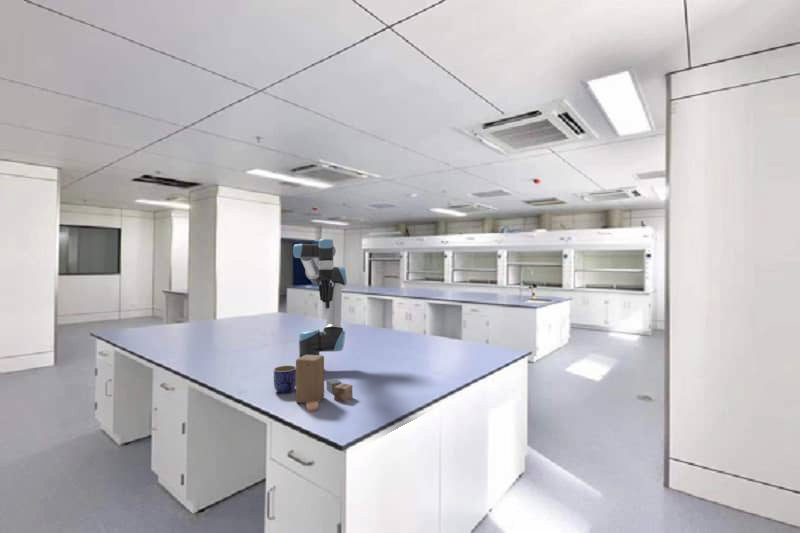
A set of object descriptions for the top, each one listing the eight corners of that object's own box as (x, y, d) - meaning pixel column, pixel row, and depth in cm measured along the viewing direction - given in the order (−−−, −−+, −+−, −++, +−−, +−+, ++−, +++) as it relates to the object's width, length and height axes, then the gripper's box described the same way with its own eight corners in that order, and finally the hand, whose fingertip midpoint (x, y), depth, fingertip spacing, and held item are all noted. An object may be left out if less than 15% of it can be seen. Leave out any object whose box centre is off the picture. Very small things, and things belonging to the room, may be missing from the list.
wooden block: (316, 405, 165) (315, 360, 165) (295, 403, 167) (294, 359, 167) (324, 397, 175) (324, 354, 174) (305, 395, 177) (305, 353, 176)
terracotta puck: (304, 409, 160) (304, 402, 160) (314, 406, 164) (314, 399, 164) (310, 413, 157) (310, 406, 157) (320, 409, 160) (320, 402, 160)
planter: (295, 394, 179) (295, 371, 179) (271, 395, 177) (271, 372, 177) (297, 386, 190) (297, 364, 190) (275, 387, 188) (275, 365, 188)
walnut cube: (334, 400, 171) (334, 387, 171) (341, 395, 177) (341, 383, 177) (345, 402, 169) (345, 389, 169) (352, 397, 174) (352, 385, 174)
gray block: (326, 390, 185) (326, 380, 185) (335, 388, 188) (335, 378, 188) (331, 394, 179) (331, 383, 179) (341, 392, 182) (341, 382, 182)
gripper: (313, 269, 195) (313, 314, 195) (327, 269, 185) (327, 316, 186) (325, 268, 200) (325, 312, 200) (339, 269, 191) (339, 315, 191)
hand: (326, 314), depth 193 cm, fingers closed
